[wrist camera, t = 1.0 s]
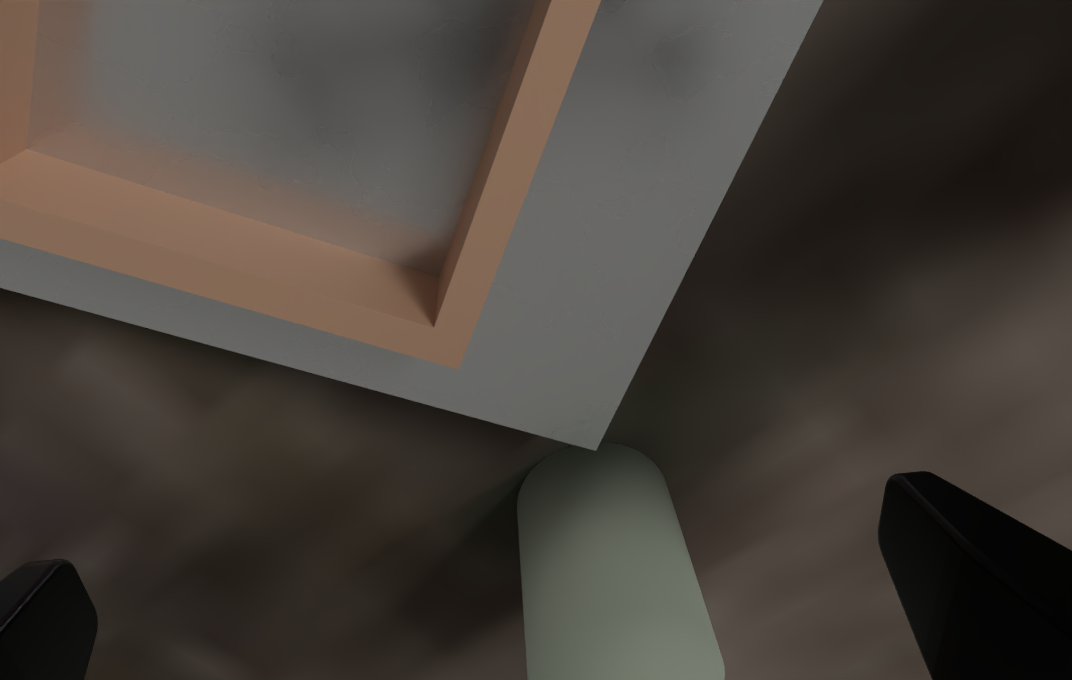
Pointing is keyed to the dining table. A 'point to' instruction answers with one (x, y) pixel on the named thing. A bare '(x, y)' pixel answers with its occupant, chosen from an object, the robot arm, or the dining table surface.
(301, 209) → the grey board with frame
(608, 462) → the spout can
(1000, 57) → the dining table surface
